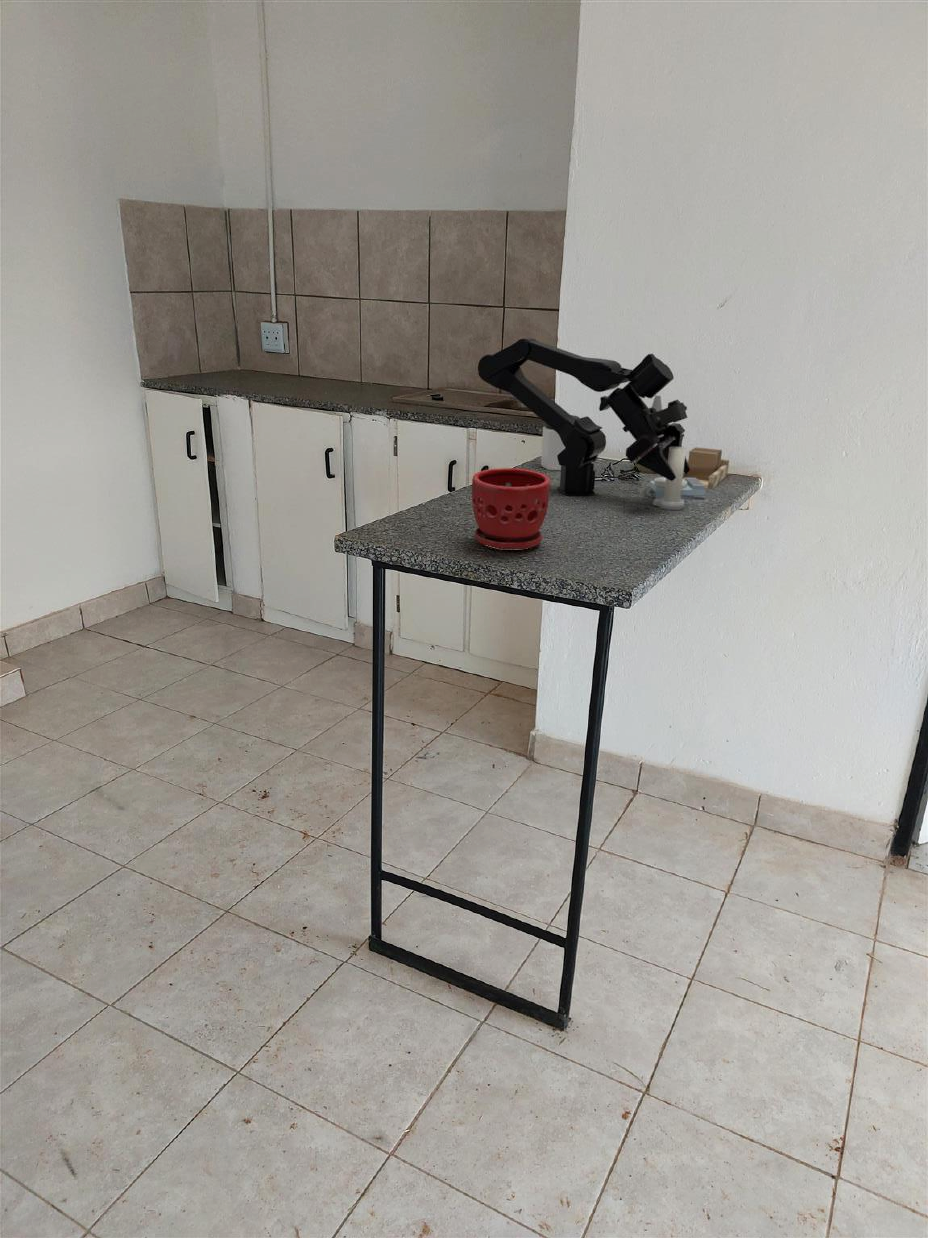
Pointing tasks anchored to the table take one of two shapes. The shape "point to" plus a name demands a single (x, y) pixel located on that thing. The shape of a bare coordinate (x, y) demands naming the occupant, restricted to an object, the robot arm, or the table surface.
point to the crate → (703, 462)
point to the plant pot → (509, 507)
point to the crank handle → (673, 482)
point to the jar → (551, 448)
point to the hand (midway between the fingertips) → (681, 475)
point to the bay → (715, 475)
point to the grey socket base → (688, 487)
